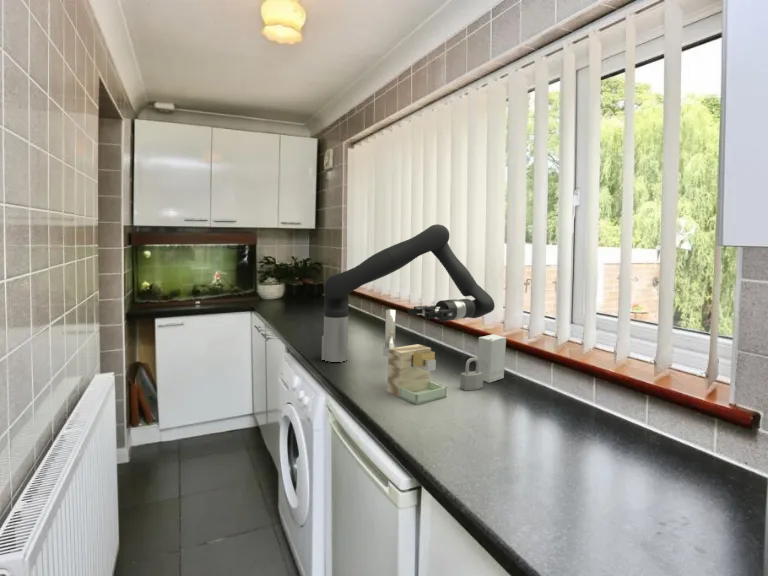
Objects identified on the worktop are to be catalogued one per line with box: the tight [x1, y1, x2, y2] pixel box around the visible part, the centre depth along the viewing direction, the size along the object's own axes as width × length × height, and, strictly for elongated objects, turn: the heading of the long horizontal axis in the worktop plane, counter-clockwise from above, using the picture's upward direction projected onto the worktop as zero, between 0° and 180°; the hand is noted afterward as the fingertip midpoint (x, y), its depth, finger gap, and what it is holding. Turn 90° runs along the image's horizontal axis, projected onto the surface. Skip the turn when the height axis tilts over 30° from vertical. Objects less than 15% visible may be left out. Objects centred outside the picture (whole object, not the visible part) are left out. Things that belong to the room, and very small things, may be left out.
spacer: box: [413, 350, 436, 367], centre depth 133 cm, size 4×5×4 cm
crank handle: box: [382, 308, 437, 372], centre depth 139 cm, size 22×3×15 cm, turn 38°
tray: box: [399, 380, 448, 406], centre depth 134 cm, size 7×12×3 cm, turn 127°
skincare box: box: [477, 333, 507, 383], centre depth 154 cm, size 8×6×15 cm
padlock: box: [459, 357, 484, 391], centre depth 144 cm, size 7×4×10 cm, turn 118°
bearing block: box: [386, 343, 432, 398], centre depth 139 cm, size 6×12×14 cm, turn 127°
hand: (416, 314), depth 152 cm, fingers open, 8 cm apart
